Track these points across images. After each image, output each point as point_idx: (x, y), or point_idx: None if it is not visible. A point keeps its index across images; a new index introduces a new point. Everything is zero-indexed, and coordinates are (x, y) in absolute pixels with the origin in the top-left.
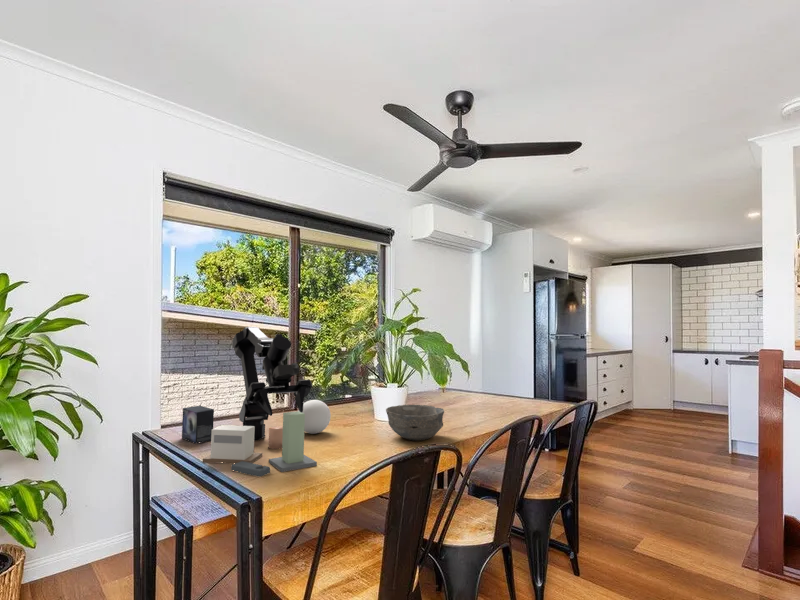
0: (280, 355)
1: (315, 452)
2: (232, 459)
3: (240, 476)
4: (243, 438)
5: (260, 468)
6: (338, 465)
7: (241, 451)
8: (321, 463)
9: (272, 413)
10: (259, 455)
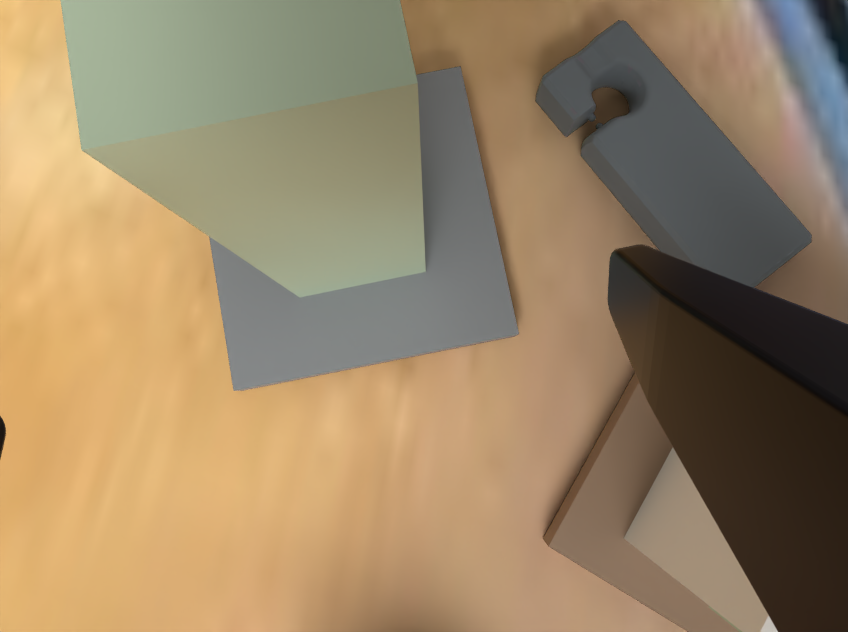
0: None
1: (102, 491)
2: None
3: (728, 92)
4: None
5: (603, 125)
6: (58, 82)
7: None
8: None
9: (613, 254)
10: (576, 493)
